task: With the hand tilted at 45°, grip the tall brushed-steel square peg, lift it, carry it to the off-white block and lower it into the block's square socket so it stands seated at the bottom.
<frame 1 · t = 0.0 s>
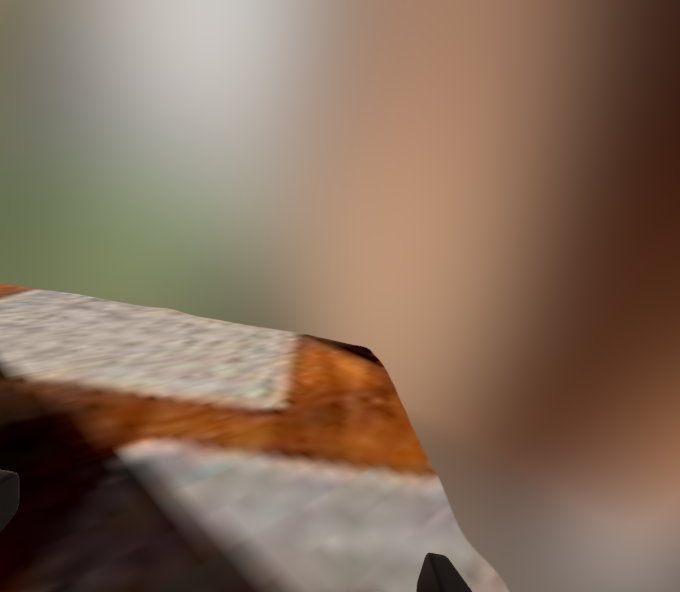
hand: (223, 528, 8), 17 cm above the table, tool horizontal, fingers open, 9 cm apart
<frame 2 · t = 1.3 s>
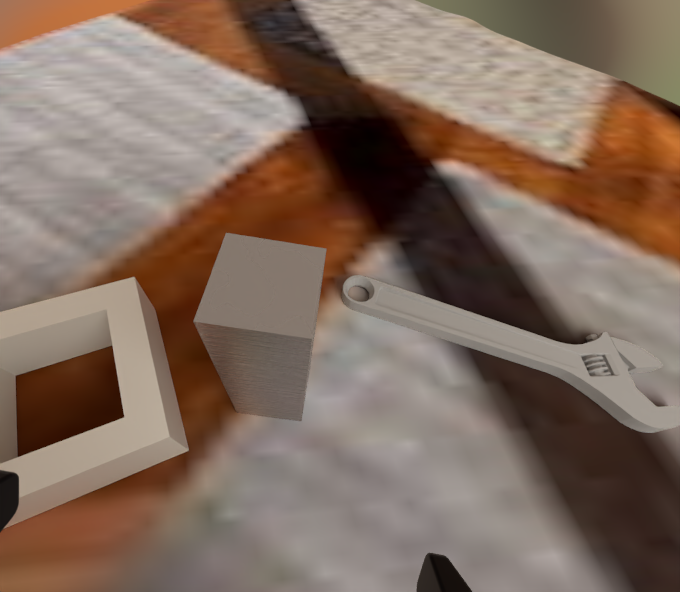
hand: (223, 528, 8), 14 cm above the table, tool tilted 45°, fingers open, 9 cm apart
steel peg: (275, 385, 23), on the table
adjustable wrench: (500, 340, 28), on the table
socket block: (81, 404, 21), on the table
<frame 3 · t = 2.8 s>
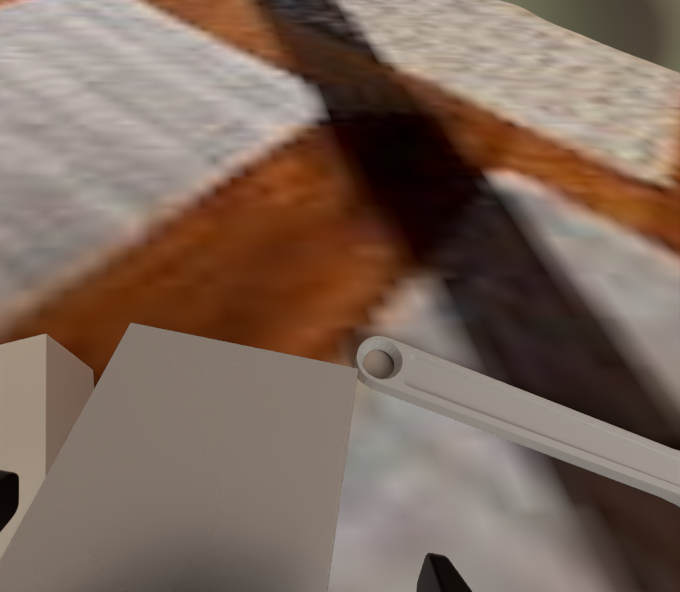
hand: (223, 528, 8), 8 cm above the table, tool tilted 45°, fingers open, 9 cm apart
steel peg: (258, 504, 15), on the table
adjustable wrench: (581, 437, 19), on the table
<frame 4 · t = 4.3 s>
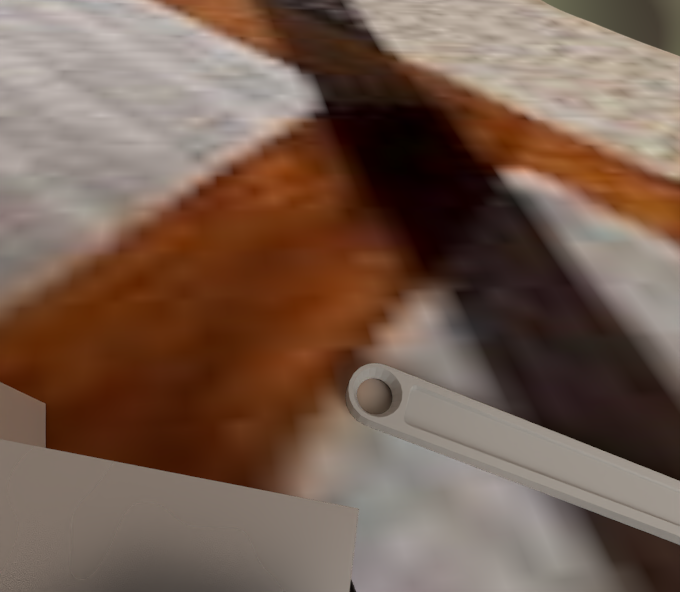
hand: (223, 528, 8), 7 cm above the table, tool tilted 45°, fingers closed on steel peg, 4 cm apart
steel peg: (237, 570, 13), on the table, touching gripper
adjustable wrench: (611, 480, 16), on the table
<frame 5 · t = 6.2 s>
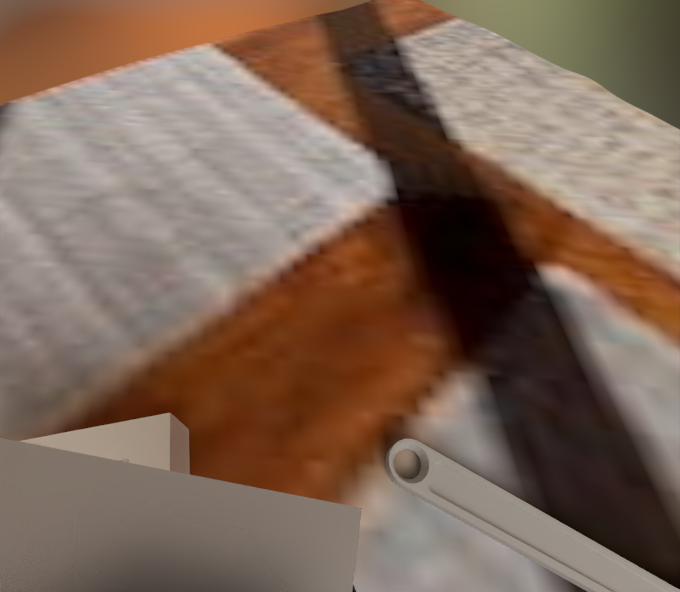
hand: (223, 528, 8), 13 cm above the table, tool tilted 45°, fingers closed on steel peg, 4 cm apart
steel peg: (238, 570, 13), point 7 cm above the table, touching gripper
adjustable wrench: (588, 556, 21), on the table
socket block: (82, 555, 18), on the table
when the fingers open (8 cm above the table, at t = 8.5 s): steel peg drops 1 cm, resting in socket block.
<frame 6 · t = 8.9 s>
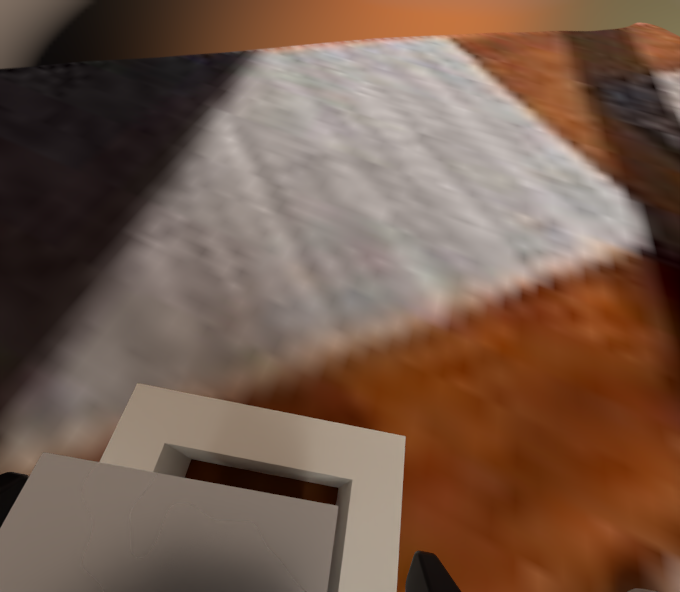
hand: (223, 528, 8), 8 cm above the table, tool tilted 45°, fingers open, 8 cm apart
steel peg: (242, 565, 14), resting in socket block
socket block: (242, 565, 14), on the table
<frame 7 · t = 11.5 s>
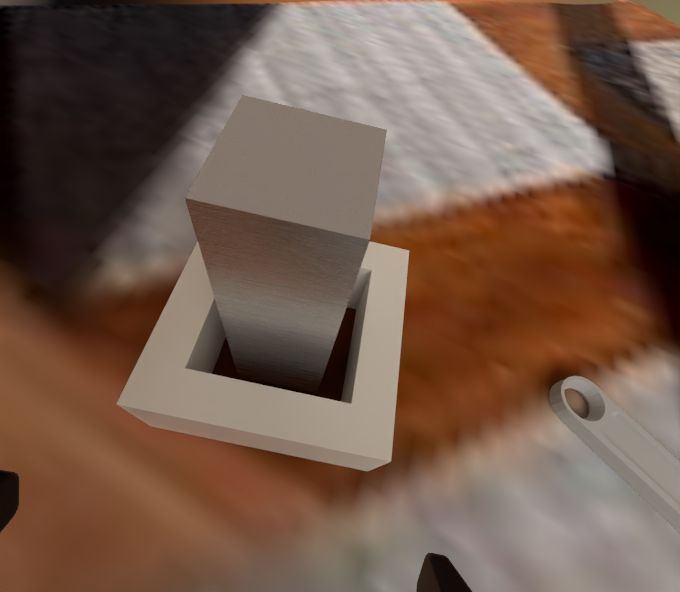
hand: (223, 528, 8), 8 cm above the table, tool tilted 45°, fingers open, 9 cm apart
steel peg: (287, 348, 19), resting in socket block
socket block: (287, 348, 19), on the table
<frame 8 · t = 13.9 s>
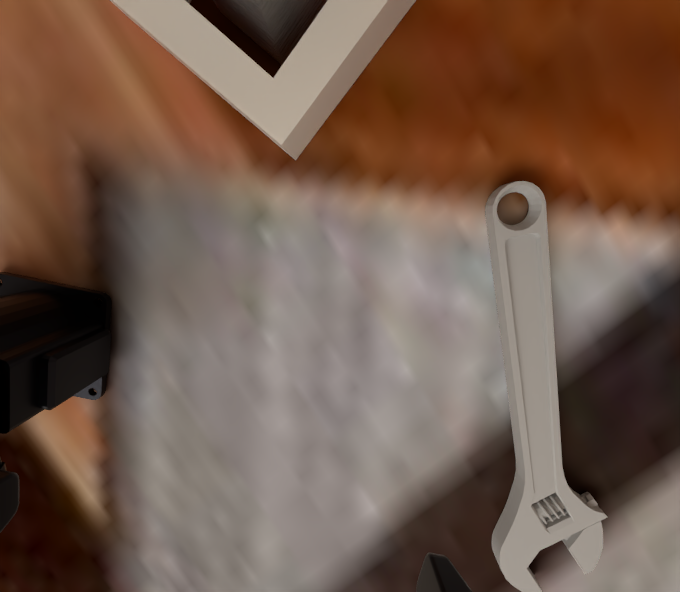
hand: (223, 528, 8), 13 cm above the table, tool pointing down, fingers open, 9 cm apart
steel peg: (277, 2, 17), resting in socket block
adjustable wrench: (535, 399, 22), on the table
socket block: (277, 3, 17), on the table
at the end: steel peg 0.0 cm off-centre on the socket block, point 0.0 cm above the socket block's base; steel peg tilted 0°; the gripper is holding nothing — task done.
